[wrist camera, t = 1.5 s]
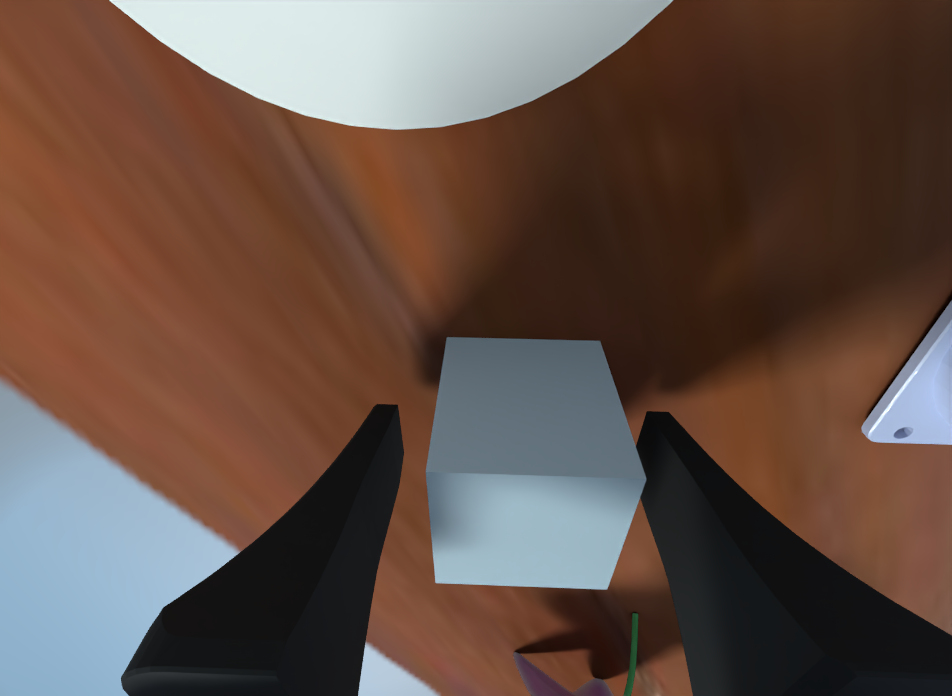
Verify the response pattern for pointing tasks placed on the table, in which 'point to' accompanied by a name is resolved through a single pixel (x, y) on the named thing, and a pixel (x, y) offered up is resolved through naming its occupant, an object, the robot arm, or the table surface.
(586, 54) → the dish
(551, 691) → the lily
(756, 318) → the table surface
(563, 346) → the block
